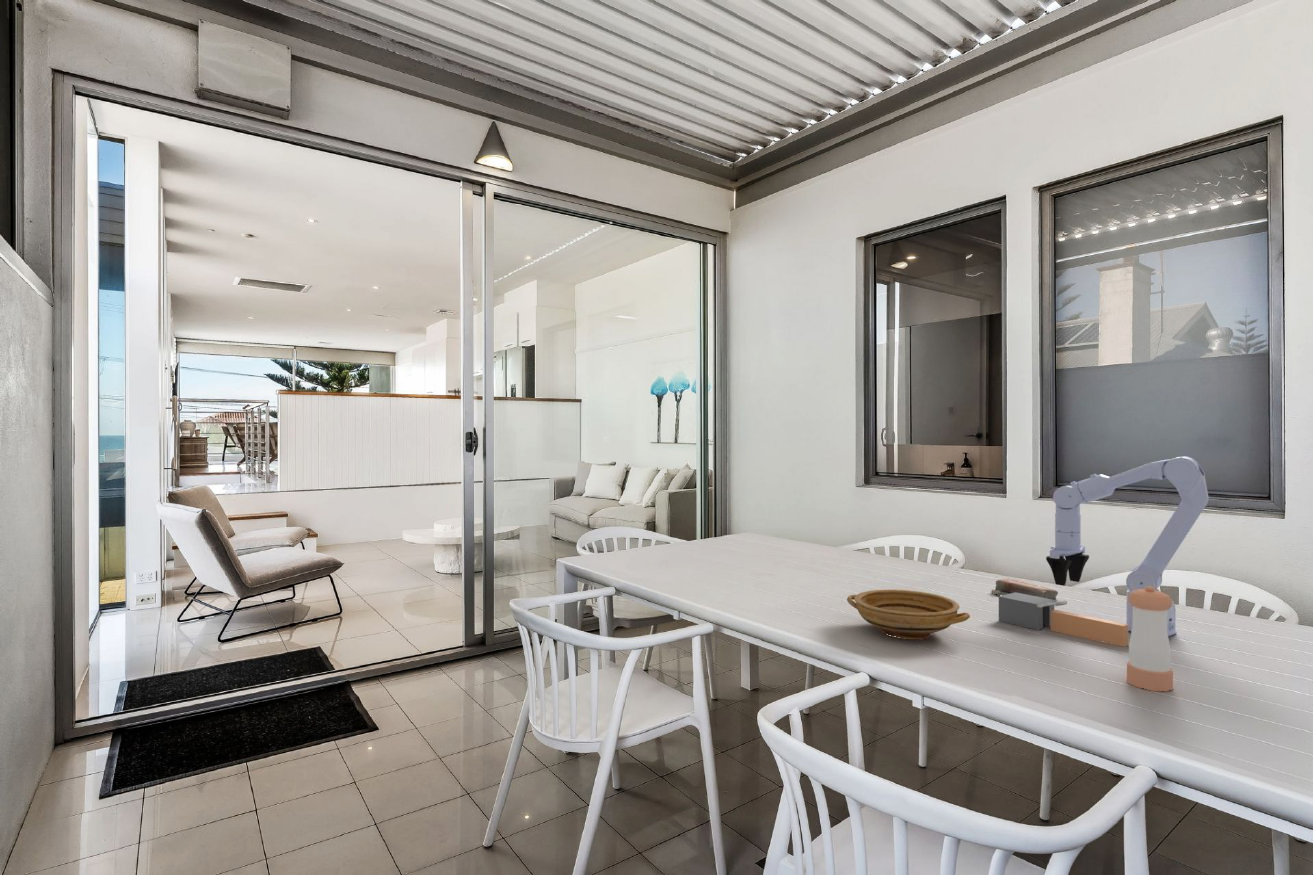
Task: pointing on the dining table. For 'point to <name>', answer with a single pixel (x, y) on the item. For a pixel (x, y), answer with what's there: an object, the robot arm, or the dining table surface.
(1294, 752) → the dining table surface
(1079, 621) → the orange rectangular bar
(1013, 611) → the grey plain boxy block
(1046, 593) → the packaged product
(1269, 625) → the dining table surface
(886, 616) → the ceramic bowl
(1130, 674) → the salt shaker
